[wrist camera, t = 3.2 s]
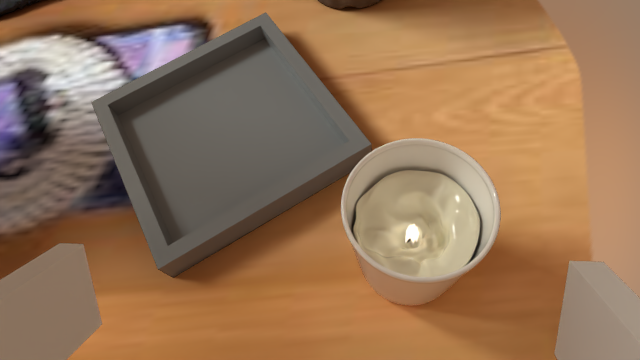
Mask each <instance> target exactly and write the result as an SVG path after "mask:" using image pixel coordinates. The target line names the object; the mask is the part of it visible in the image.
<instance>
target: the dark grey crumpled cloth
mask: <svg viewBox="0 0 640 360" xmlns="http://www.w3.org/2000/svg"><path fill="white" fill-rule="evenodd" d="M39 1H41V0H0V15H3V14H6V13H10V12H13V11H15V10H16V9H18V8H19V9H22V8H23V7H24V6H26V5H31V4H32V3H35V2H39Z"/></svg>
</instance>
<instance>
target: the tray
mask: <svg viewBox="0 0 640 360" xmlns="http://www.w3.org/2000/svg"><path fill="white" fill-rule="evenodd" d="M91 103H92V105H93V108H94V110H95V113H96V115H97V118H98V120H99V123H100V125H101V128H102V130H103V133H104V135H105V138H106V140H107V143H108V145H109V148H110V150H111V153H112V155H113V158H114V160H115V163H116V165H117V168H118V170H119V173H120V175H121V178H122V180H123V183H124V185H125V188H126V190H127V193H128V195H129V198H130V200H131V203H132V205H133V208H134V210H135V213H136V215H137V218H138V220H139V223H140V225H141V228H142V230H143V233H144V235H145V238H146V240H147V243H148V245H149V248H150V250H151V253H152V256H153V258H154V261H155V263H156V266H157V268H158V270H160V271H162V272H164V273H166V274H167V275H169V276H171V277H175V276H177V275H179V274H180V273H182V272H184V271H185V270H187V269H189V268H190V267H192V266H194V265H195V264H197V263H199V262H200V261H202V260H204V259H205V258H207V257H209V256H211V255H212V254H214V253H216V252H217V251H219V250H221V249H222V248H224V247H226V246H227V245H229V244H231V243H232V242H234V241H236V240H238V239H239V238H241V237H243V236H244V235H246V234H248V233H249V232H251V231H253V230H254V229H256V228H258V227H259V226H261V225H263V224H264V223H266V222H268V221H270V220H271V219H273V218H275V217H276V216H278V215H280V214H281V213H283V212H285V211H286V210H288V209H290V208H291V207H293V206H295V205H296V204H298V203H300V202H302V201H303V200H305V199H307V198H308V197H310V196H312V195H313V194H315V193H317V192H318V191H320V190H322V189H323V188H325V187H327V186H329V185H330V184H332V183H334V182H335V181H337V180H339V179H340V178H342V177H344V176H345V175H347V174H349V173H350V172H352V170H353V169H354V167H355V166H356V165H357V164H358V163H359V161H360V160H362V159H363V158H364V157H365V156H366V155H367V154H369V153H370V152H372V148H371V143H370V142H369V140H368V139H367V138H366V137H365V135H364V134H363V133H362V132H361V130H360V129H359V128H358V127H357V125H356V124H355V123H354V122H353V120H352V119H351V118H350V117H349V115H348V114H347V113H346V112H345V110H344V109H343V108H342V107H341V105H340V104H339V103H338V102H337V100H336V99H335V98H334V97H333V96H332V94H331V93H330V92H329V91H328V89H327V88H326V87H325V86H324V84H323V83H322V82H321V81H320V79H319V78H318V77H317V76H316V74H315V73H314V72H313V71H312V69H311V68H310V67H309V66H308V64H307V63H306V62H305V61H304V59H303V58H302V57H301V56H300V54H299V53H298V52H297V51H296V49H295V48H294V47H293V46H292V44H291V43H290V42H289V41H288V39H287V38H286V37H285V36H284V34H283V33H282V32H281V31H280V29H279V28H278V27H277V26H276V24H275V23H274V22H273V21H272V19H271V18H270V17H269V16H268V15H267V13H264V14H262V15H260V16H258V17H256V18H254V19H252V20H250V21H248V22H246V23H244V24H242V25H241V26H239V27H237V28H235V29H233V30H231V31H229V32H227V33H225V34H223V35H221V36H219V37H217V38H215V39H213V40H211V41H209V42H207V43H206V44H204V45H202V46H200V47H198V48H196V49H194V50H192V51H190V52H188V53H186V54H184V55H182V56H180V57H178V58H176V59H174V60H172V61H171V62H169V63H167V64H165V65H163V66H161V67H159V68H157V69H155V70H153V71H151V72H149V73H147V74H145V75H143V76H141V77H139V78H138V79H136V80H134V81H132V82H130V83H128V84H126V85H124V86H122V87H120V88H118V89H116V90H114V91H112V92H110V93H108V94H106V95H104V96H103V97H101V98H99V99H97V100H95V101H93V102H91Z"/></svg>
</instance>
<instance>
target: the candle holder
mask: <svg viewBox="0 0 640 360" xmlns="http://www.w3.org/2000/svg"><path fill="white" fill-rule="evenodd" d="M341 216H342V221H343V225H344V229H345V231H346V234H347V236H348V238H349V240H350V242H351V244H352V247H353V250H354V252H355V255H356V258H357V260H358V263H359V266H360V268H361V271H362V273H363V275H364V277H365V279H366V281H367V282H368V284H369V285H370V286H371V287H372V289H373V290H374V291H375V292H377V293H378V294H379V295H380V296H382V297H383V298H385V299H387V300H389V301H391V302H393V303H396V304H401V305H408V306H414V305H421V304H425V303H428V302H431V301H433V300H435V299H436V298H438V297H439V296H441V295H442V294H443V293H445V292H446V291H447V290H448V289H449V288H450V287H451V286H452V285H454V284H455V283H456V282H457V281H458V280H459V279H460V278H461V277H462V276H463V275H464V274H465V273H466V272H468V271H469V270H471V269H472V268H473V267H475V266H476V265H477V264H478V263H479V262H480V261H481V260H482V259H483V258H484V257H485V256H486V255H487V253H488V252H489V251H490V249H491V247H492V246H493V244H494V242H495V240H496V237H497V234H498V231H499V226H500V219H501V210H500V202H499V197H498V194H497V191H496V188H495V186H494V184H493V182H492V180H491V179H490V177H489V175H488V174H487V173H486V171H485V170H484V169H483V168H482V166H481V165H480V164H479V163H478V162H477V161H475V160H474V159H473V158H472V157H471V156H469V155H468V154H466V153H465V152H463V151H462V150H460V149H458V148H456V147H454V146H452V145H449V144H447V143H444V142H440V141H436V140H431V139H422V138H411V139H403V140H397V141H394V142H390V143H387V144H385V145H382V146H380V147H378V148H377V149H375V150H373V151H372V152H370V153H369V154H367V155H366V156H365V157H364V158H363V159H362V160H360V161H359V163H358V164H357V165H356V166H355V167H354V169H353V170H352V172H351V173H350V175H349V177H348V179H347V181H346V183H345V186H344V189H343V193H342V198H341Z"/></svg>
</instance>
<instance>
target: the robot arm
mask: <svg viewBox="0 0 640 360" xmlns="http://www.w3.org/2000/svg"><path fill="white" fill-rule="evenodd" d="M101 325H102V321H101V317H100V313H99V308H98V304H97V300H96V296H95V291H94V287H93V283H92V279H91V274H90V270H89V266H88V261H87V257H86V253H85V249H84V244H71V243H59V244H58V245H56V246H54V247H53V248H51V249H49V250H48V251H46V252H45V253H43V254H41V255H40V256H38V257H37V258H35V259H33V260H32V261H30V262H28V263H27V264H25V265H24V266H22V267H20V268H19V269H17V270H15V271H14V272H12V273H11V274H9V275H7V276H6V277H4V278H2V279H1V280H0V360H67V359H68V358H69V357H70V356H71V355H72V354H73V353H74V352H75V351H76V350H77V349H78V348H79V347H80V346H81V345H82V344H83V343H84V342H85V341H86V340H87V339H88V338H89V337H90V336H91V335H92V334H93V333H94V332H95V331H96V330H97V329H98V328H99V327H100V326H101ZM554 354H555V356H556V358H557V360H640V298H639V297H638V296H637V295H636V294H635V293H634V292H633V291H632V290H631V289H630V288H629V287H628V286H627V285H626V284H625V283H624V282H623V281H622V280H621V279H620V278H619V277H618V276H617V275H616V274H615V273H614V272H613V271H612V270H611V269H610V268H609V267H608V266H607V265H606V264H605V263H604V262H590V261H569V267H568V273H567V279H566V285H565V291H564V297H563V304H562V310H561V316H560V322H559V328H558V334H557V340H556V347H555V353H554Z"/></svg>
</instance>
